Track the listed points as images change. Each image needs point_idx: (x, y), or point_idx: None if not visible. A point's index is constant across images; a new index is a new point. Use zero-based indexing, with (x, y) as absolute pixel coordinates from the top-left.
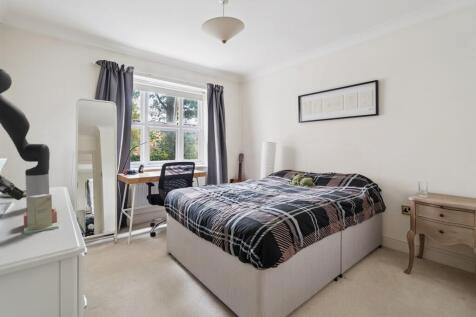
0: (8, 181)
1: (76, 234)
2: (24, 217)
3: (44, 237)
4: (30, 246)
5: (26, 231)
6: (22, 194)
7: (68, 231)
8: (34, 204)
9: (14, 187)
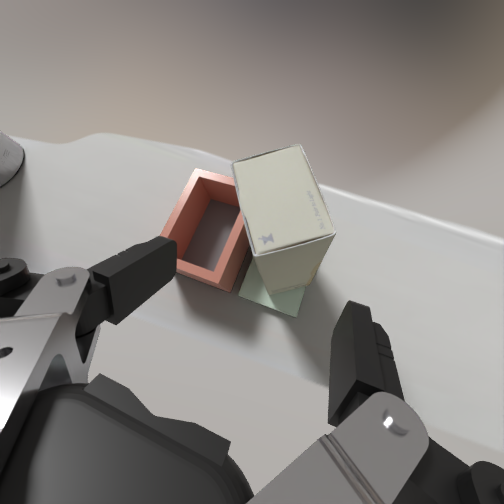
0: (49, 348)
1: (459, 228)
2: (221, 282)
3: (402, 296)
4: (479, 364)
5: (297, 309)
6: (357, 308)
7: (397, 227)
8: (321, 255)
9: (114, 283)
